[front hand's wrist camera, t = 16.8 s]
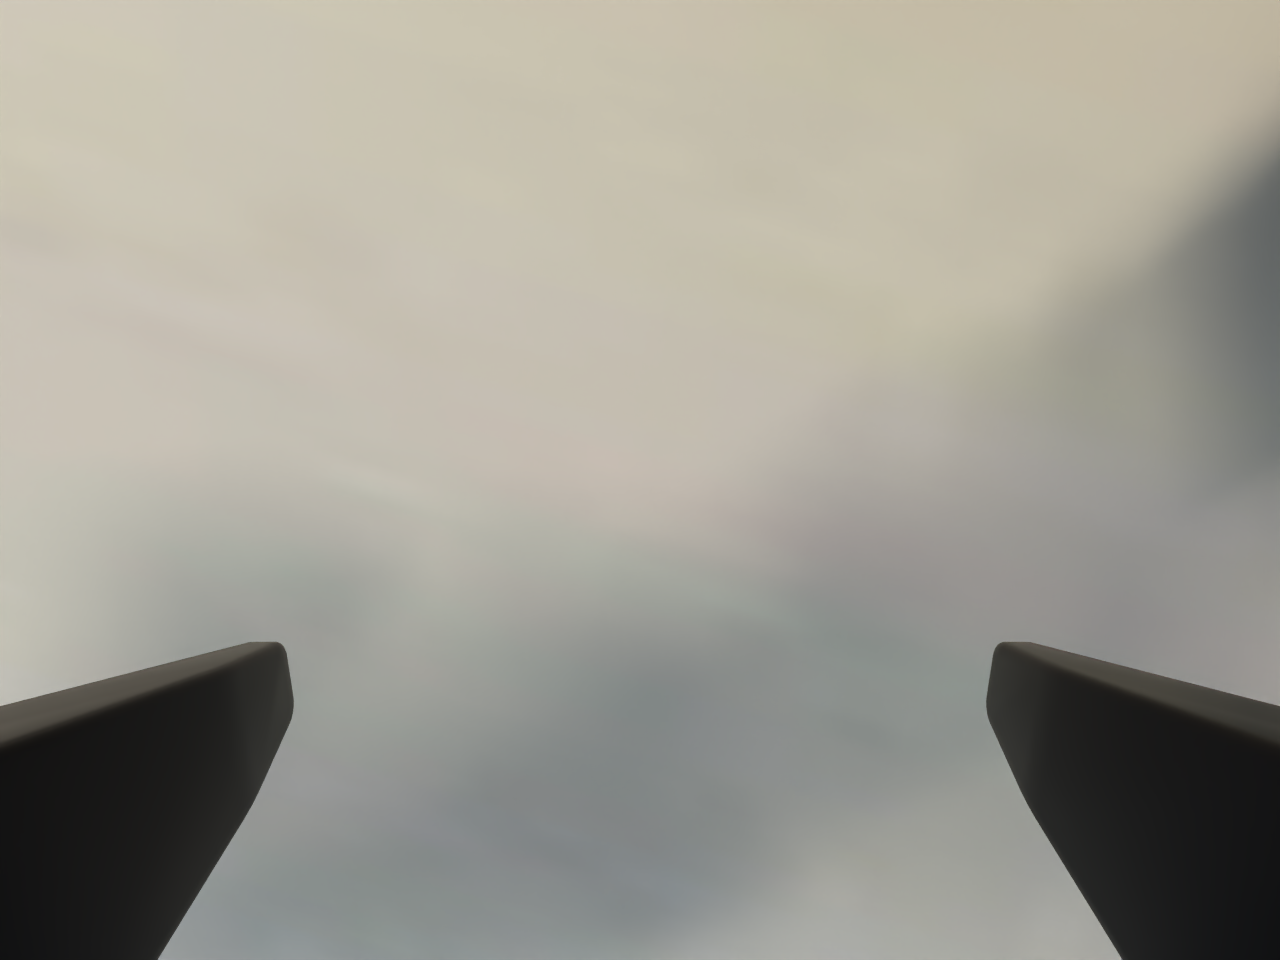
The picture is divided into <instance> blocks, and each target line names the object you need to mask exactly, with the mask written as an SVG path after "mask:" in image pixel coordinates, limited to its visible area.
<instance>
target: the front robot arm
mask: <svg viewBox="0 0 1280 960" xmlns="http://www.w3.org/2000/svg"><path fill="white" fill-rule="evenodd" d="M293 707H294V699H293V692H292V685H291V679H290V672H289V666H288V659H287V654H286V651H285V648H284V646H283V645H282V644H280V643H278V642H248V643H245V644H241V645H237V646H233V647H229V648H225V649H221V650H217V651H213V652H210V653H206V654H202V655H198V656H194V657H190V658H186V659H182V660H178V661H175V662H171V663H167V664H163V665H159V666H155V667H151V668H147V669H143V670H140V671H136V672H132V673H128V674H124V675H120V676H116V677H112V678H108V679H105V680H101V681H97V682H93V683H89V684H85V685H81V686H77V687H73V688H70V689H66V690H62V691H58V692H54V693H50V694H46V695H42V696H38V697H35V698H31V699H27V700H23V701H19V702H15V703H11V704H7V705H4V706H0V960H158V958H159V956H160V955H161V953H162V952H163V950H164V948H165V947H166V945H167V943H168V942H169V940H170V939H171V937H172V935H173V934H174V932H175V930H176V929H177V927H178V926H179V924H180V922H181V921H182V919H183V917H184V916H185V914H186V913H187V911H188V909H189V908H190V906H191V904H192V903H193V901H194V900H195V898H196V896H197V895H198V893H199V891H200V890H201V888H202V886H203V885H204V883H205V882H206V880H207V878H208V877H209V875H210V873H211V872H212V870H213V869H214V867H215V865H216V864H217V862H218V860H219V859H220V857H221V856H222V854H223V852H224V851H225V849H226V847H227V846H228V844H229V843H230V841H231V839H232V838H233V836H234V834H235V833H236V831H237V830H238V828H239V826H240V825H241V823H242V821H243V820H244V818H245V816H246V815H247V813H248V811H249V809H250V808H251V806H252V804H253V802H254V800H255V798H256V796H257V794H258V792H259V790H260V788H261V786H262V783H263V781H264V779H265V777H266V775H267V772H268V770H269V768H270V766H271V764H272V761H273V759H274V757H275V755H276V752H277V750H278V748H279V746H280V744H281V741H282V739H283V737H284V735H285V732H286V730H287V728H288V726H289V724H290V721H291V718H292V714H293ZM986 707H987V714H988V718H989V721H990V724H991V726H992V728H993V730H994V733H995V735H996V737H997V739H998V741H999V744H1000V746H1001V748H1002V750H1003V752H1004V755H1005V757H1006V759H1007V761H1008V764H1009V766H1010V768H1011V770H1012V772H1013V775H1014V777H1015V779H1016V781H1017V783H1018V786H1019V788H1020V790H1021V792H1022V794H1023V796H1024V798H1025V800H1026V802H1027V804H1028V806H1029V808H1030V809H1031V811H1032V813H1033V815H1034V816H1035V818H1036V820H1037V821H1038V823H1039V825H1040V826H1041V828H1042V830H1043V831H1044V833H1045V834H1046V836H1047V838H1048V839H1049V841H1050V843H1051V844H1052V846H1053V847H1054V849H1055V851H1056V852H1057V854H1058V856H1059V857H1060V859H1061V860H1062V862H1063V864H1064V865H1065V867H1066V869H1067V870H1068V872H1069V873H1070V875H1071V877H1072V878H1073V880H1074V882H1075V883H1076V885H1077V886H1078V888H1079V890H1080V891H1081V893H1082V895H1083V896H1084V898H1085V899H1086V901H1087V903H1088V904H1089V906H1090V908H1091V909H1092V911H1093V912H1094V914H1095V916H1096V917H1097V919H1098V921H1099V922H1100V924H1101V925H1102V927H1103V929H1104V930H1105V932H1106V934H1107V935H1108V937H1109V938H1110V940H1111V942H1112V943H1113V945H1114V947H1115V948H1116V950H1117V952H1118V953H1119V955H1120V956H1121V958H1122V960H1280V706H1277V705H1273V704H1269V703H1265V702H1261V701H1257V700H1253V699H1249V698H1245V697H1242V696H1238V695H1234V694H1230V693H1226V692H1222V691H1218V690H1214V689H1210V688H1207V687H1203V686H1199V685H1195V684H1191V683H1187V682H1183V681H1179V680H1175V679H1172V678H1168V677H1164V676H1160V675H1156V674H1152V673H1148V672H1144V671H1140V670H1137V669H1133V668H1129V667H1125V666H1121V665H1117V664H1113V663H1109V662H1105V661H1102V660H1098V659H1094V658H1090V657H1086V656H1082V655H1078V654H1074V653H1070V652H1067V651H1063V650H1059V649H1055V648H1051V647H1047V646H1043V645H1039V644H1035V643H1032V642H1002V643H1000V644H998V645H997V646H996V648H995V651H994V654H993V659H992V666H991V672H990V679H989V685H988V692H987V699H986Z"/></svg>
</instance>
